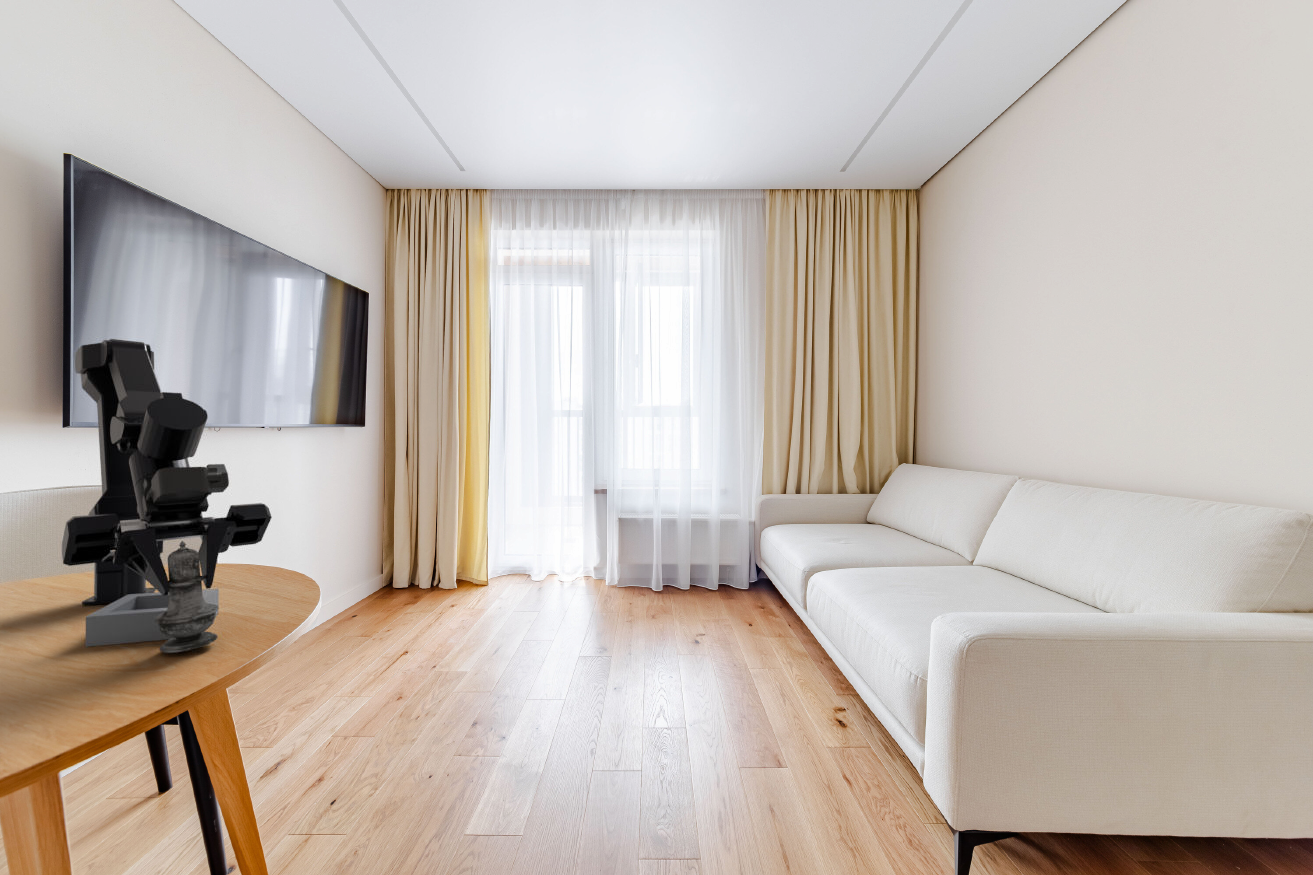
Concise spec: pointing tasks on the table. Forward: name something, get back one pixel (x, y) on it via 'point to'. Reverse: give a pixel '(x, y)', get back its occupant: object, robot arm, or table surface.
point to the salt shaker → (186, 605)
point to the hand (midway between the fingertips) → (188, 589)
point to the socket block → (133, 619)
